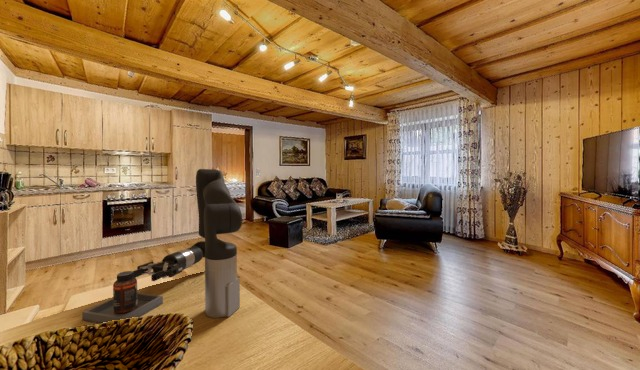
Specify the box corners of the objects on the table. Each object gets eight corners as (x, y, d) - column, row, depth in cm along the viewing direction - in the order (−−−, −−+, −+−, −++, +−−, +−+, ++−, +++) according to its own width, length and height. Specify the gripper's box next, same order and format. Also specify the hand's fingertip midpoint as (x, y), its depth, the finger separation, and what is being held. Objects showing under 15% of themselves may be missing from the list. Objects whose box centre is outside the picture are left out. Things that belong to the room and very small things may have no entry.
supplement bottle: (142, 305, 83) (141, 270, 83) (126, 315, 77) (126, 277, 77) (125, 304, 84) (124, 269, 83) (108, 313, 78) (107, 276, 77)
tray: (162, 303, 85) (162, 296, 85) (121, 327, 72) (120, 318, 72) (128, 298, 89) (128, 291, 89) (82, 320, 75) (82, 312, 75)
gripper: (163, 250, 103) (123, 263, 87) (194, 253, 100) (159, 267, 84) (163, 269, 103) (124, 286, 87) (194, 272, 100) (159, 290, 84)
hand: (141, 276), depth 86 cm, fingers open, 8 cm apart
